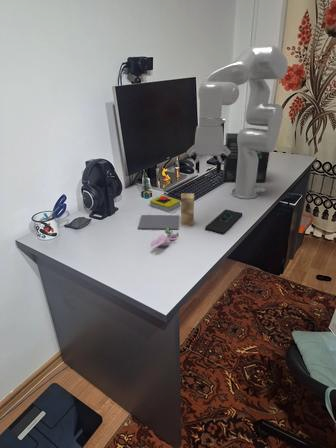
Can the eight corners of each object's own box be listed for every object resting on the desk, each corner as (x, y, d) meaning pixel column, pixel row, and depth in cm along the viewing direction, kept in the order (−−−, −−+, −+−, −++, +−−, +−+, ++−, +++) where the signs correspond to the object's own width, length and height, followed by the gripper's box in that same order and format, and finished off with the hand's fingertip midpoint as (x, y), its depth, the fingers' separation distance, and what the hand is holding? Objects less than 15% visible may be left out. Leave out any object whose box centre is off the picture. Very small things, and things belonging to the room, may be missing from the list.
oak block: (193, 220, 128) (193, 193, 122) (193, 226, 123) (194, 198, 118) (181, 220, 128) (181, 193, 123) (181, 225, 124) (181, 198, 118)
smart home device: (243, 212, 131) (224, 232, 116) (243, 216, 131) (223, 236, 117) (225, 208, 135) (204, 227, 120) (224, 212, 136) (204, 230, 121)
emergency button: (159, 191, 147) (185, 199, 138) (160, 200, 149) (184, 207, 140) (146, 197, 141) (172, 205, 132) (146, 206, 143) (172, 214, 134)
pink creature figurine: (168, 236, 119) (145, 249, 107) (169, 222, 117) (146, 233, 105) (182, 241, 116) (160, 254, 104) (183, 226, 114) (161, 237, 102)
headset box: (262, 176, 177) (268, 129, 165) (266, 183, 166) (272, 134, 154) (222, 175, 179) (225, 129, 167) (223, 182, 168) (227, 134, 157)
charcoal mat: (179, 216, 131) (179, 215, 131) (178, 230, 121) (178, 228, 120) (141, 216, 132) (141, 214, 132) (137, 229, 122) (137, 228, 121)
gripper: (233, 120, 110) (230, 169, 118) (185, 121, 111) (184, 169, 119) (236, 124, 103) (232, 175, 112) (184, 124, 105) (184, 175, 113)
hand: (207, 171), depth 115 cm, fingers open, 6 cm apart
